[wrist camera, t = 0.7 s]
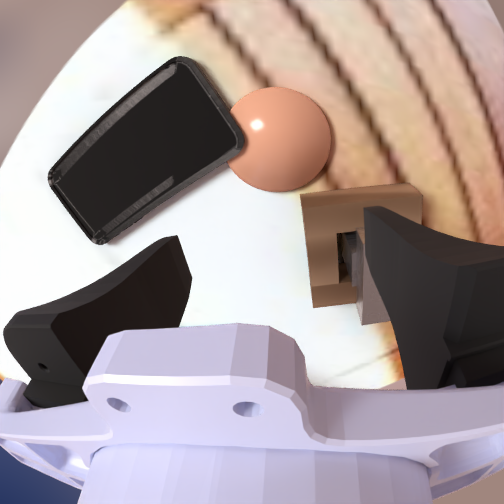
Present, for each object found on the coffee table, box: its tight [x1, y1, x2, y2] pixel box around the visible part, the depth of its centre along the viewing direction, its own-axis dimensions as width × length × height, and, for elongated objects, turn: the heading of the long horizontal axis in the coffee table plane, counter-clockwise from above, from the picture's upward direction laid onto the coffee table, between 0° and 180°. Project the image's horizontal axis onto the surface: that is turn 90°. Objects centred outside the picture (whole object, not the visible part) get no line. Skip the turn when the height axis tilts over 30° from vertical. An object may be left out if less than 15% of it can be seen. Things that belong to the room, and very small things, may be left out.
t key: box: [342, 227, 391, 325], centre depth 20 cm, size 6×3×6 cm, turn 11°
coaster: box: [227, 87, 331, 192], centre depth 20 cm, size 7×7×1 cm
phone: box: [48, 56, 244, 245], centre depth 21 cm, size 8×1×15 cm
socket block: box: [300, 183, 423, 308], centre depth 22 cm, size 8×8×2 cm
